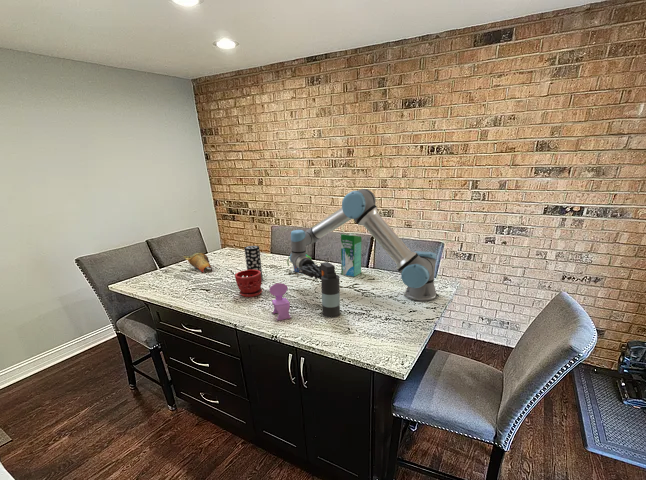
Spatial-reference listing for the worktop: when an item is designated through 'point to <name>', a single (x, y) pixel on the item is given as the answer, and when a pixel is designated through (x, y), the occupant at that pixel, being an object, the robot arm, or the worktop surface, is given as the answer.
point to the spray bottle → (330, 291)
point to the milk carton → (350, 254)
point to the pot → (198, 261)
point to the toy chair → (280, 301)
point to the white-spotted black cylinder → (253, 258)
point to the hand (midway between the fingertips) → (324, 278)
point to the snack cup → (295, 266)
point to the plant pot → (249, 282)
